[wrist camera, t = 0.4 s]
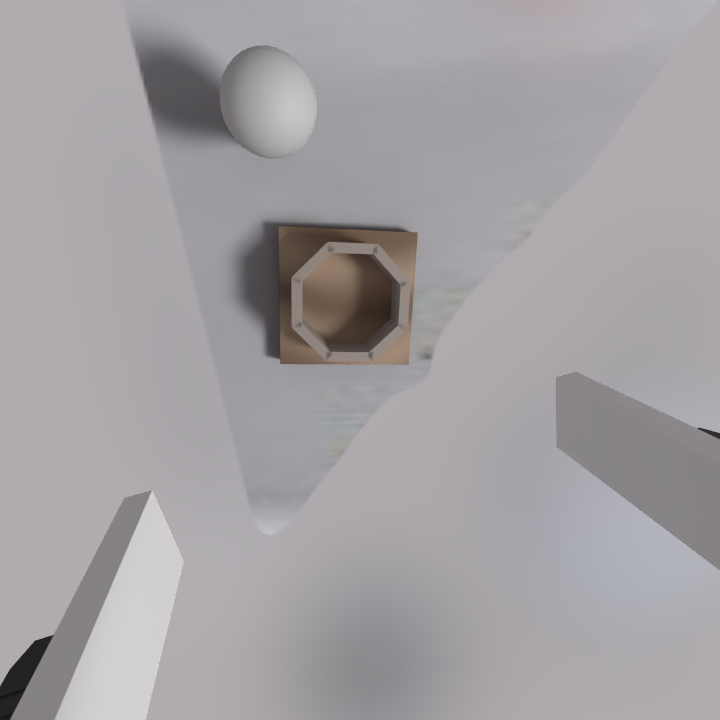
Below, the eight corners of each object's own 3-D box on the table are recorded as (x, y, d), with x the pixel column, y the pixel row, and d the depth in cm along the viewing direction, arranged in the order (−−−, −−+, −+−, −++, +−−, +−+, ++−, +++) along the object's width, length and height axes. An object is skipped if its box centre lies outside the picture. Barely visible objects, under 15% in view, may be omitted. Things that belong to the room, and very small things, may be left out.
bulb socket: (279, 227, 35) (275, 223, 31) (413, 233, 37) (428, 230, 32) (281, 359, 38) (277, 374, 34) (404, 360, 40) (417, 374, 35)
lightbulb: (241, 175, 34) (210, 140, 23) (240, 93, 32) (206, 17, 22) (314, 181, 35) (316, 150, 24) (316, 101, 33) (319, 31, 23)
